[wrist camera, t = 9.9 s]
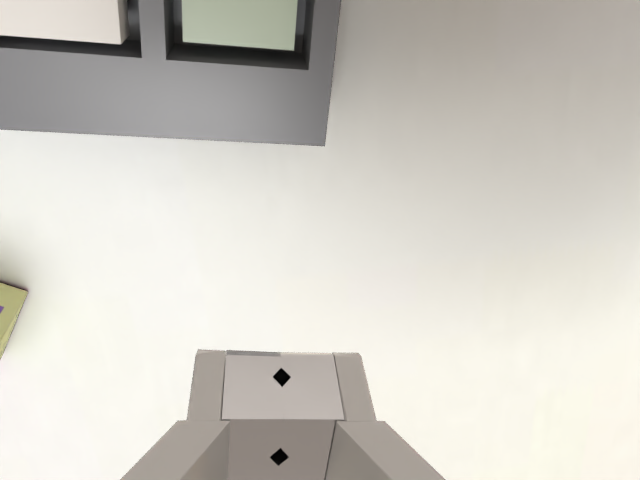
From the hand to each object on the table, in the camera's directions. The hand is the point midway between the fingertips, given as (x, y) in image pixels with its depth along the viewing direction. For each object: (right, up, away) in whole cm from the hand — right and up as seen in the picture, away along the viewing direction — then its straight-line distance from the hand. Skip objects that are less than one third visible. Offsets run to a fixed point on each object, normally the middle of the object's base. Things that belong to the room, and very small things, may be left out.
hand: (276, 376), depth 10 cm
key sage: (-2, +13, +12) cm, 18 cm away
